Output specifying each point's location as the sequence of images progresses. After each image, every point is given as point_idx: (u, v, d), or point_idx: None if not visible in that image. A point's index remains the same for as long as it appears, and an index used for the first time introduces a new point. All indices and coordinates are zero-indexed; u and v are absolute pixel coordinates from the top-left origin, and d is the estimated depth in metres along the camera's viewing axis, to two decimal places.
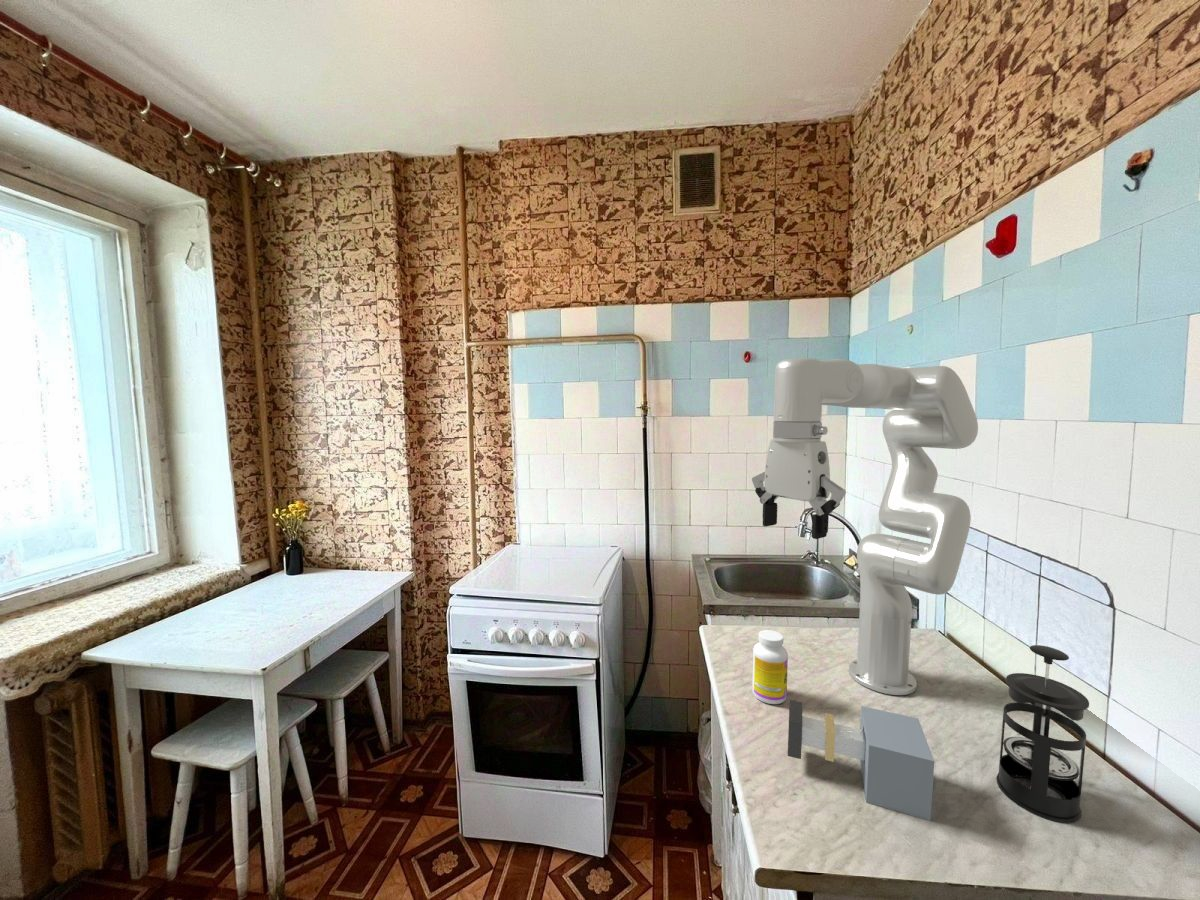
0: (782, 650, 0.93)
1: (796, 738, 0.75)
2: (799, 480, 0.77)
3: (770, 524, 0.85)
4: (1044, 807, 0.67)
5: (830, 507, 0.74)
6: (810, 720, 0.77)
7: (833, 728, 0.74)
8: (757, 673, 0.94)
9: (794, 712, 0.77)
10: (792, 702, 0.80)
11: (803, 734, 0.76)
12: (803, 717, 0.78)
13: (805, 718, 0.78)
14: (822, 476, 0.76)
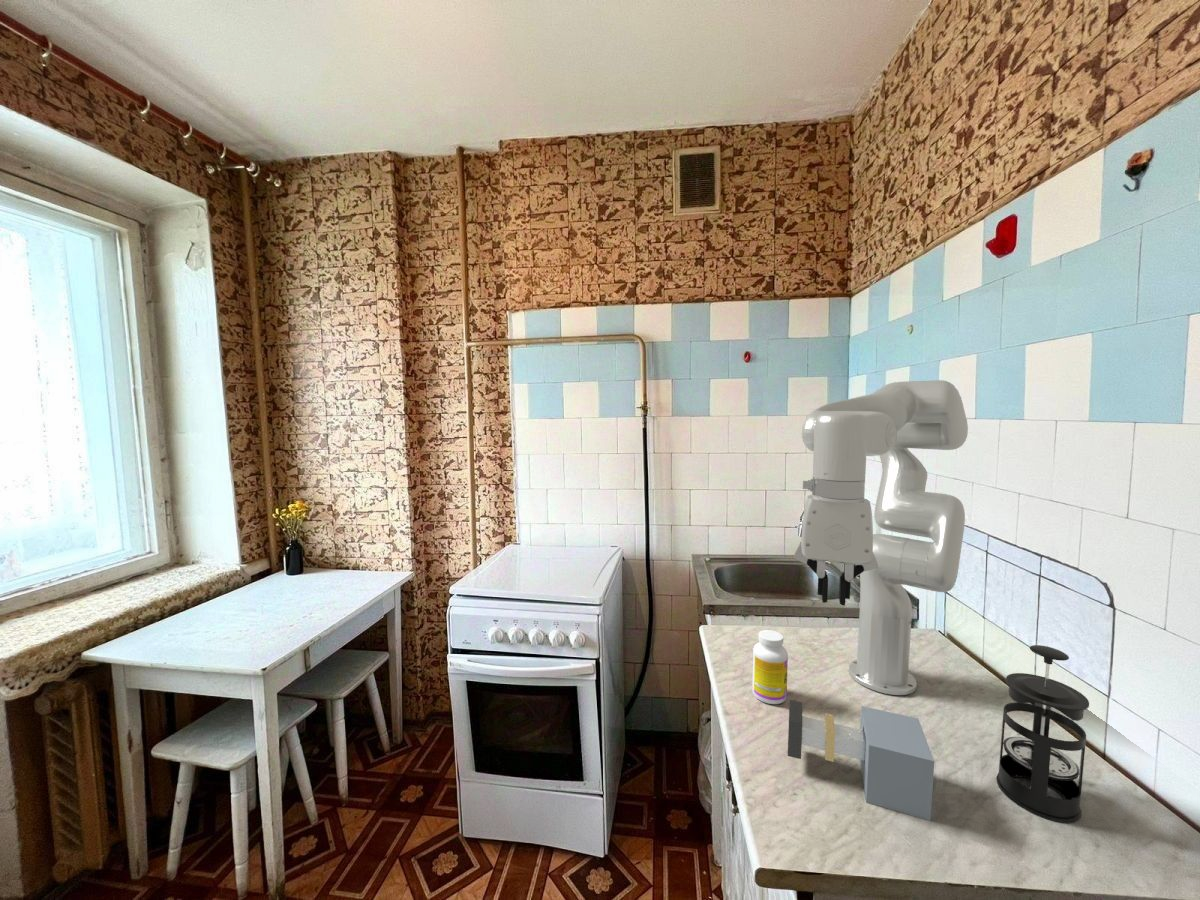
0: (782, 650, 0.93)
1: (796, 738, 0.75)
2: None
3: (839, 599, 0.77)
4: (1044, 807, 0.67)
5: None
6: (810, 720, 0.77)
7: (833, 728, 0.74)
8: (757, 673, 0.94)
9: (794, 712, 0.77)
10: (792, 702, 0.80)
11: (803, 734, 0.76)
12: (803, 717, 0.78)
13: (805, 718, 0.78)
14: None
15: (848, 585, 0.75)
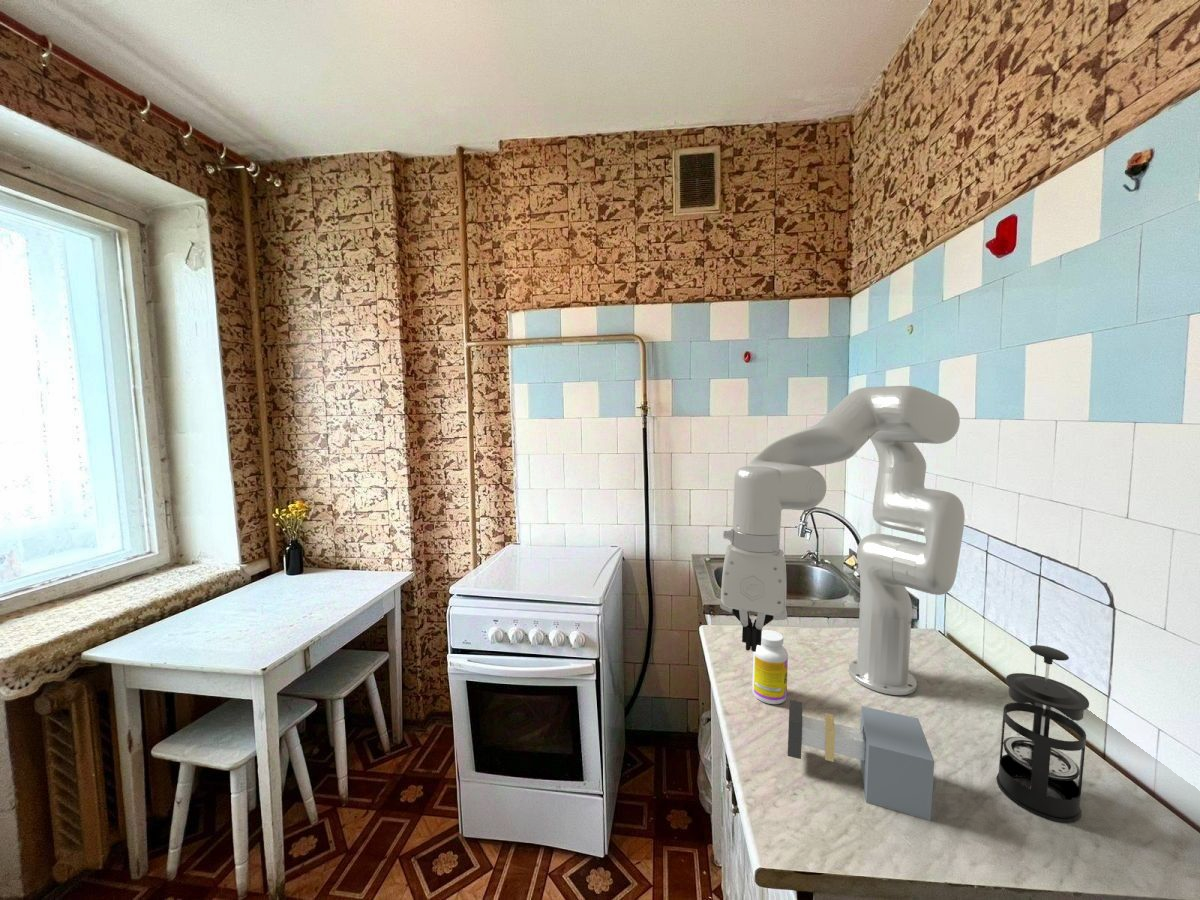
0: (782, 650, 0.93)
1: (796, 738, 0.75)
2: None
3: None
4: (1044, 807, 0.67)
5: None
6: (810, 720, 0.77)
7: (833, 728, 0.74)
8: (757, 673, 0.94)
9: (794, 712, 0.77)
10: (792, 702, 0.80)
11: (803, 734, 0.76)
12: (803, 717, 0.78)
13: (805, 718, 0.78)
14: None
15: (759, 632, 0.78)
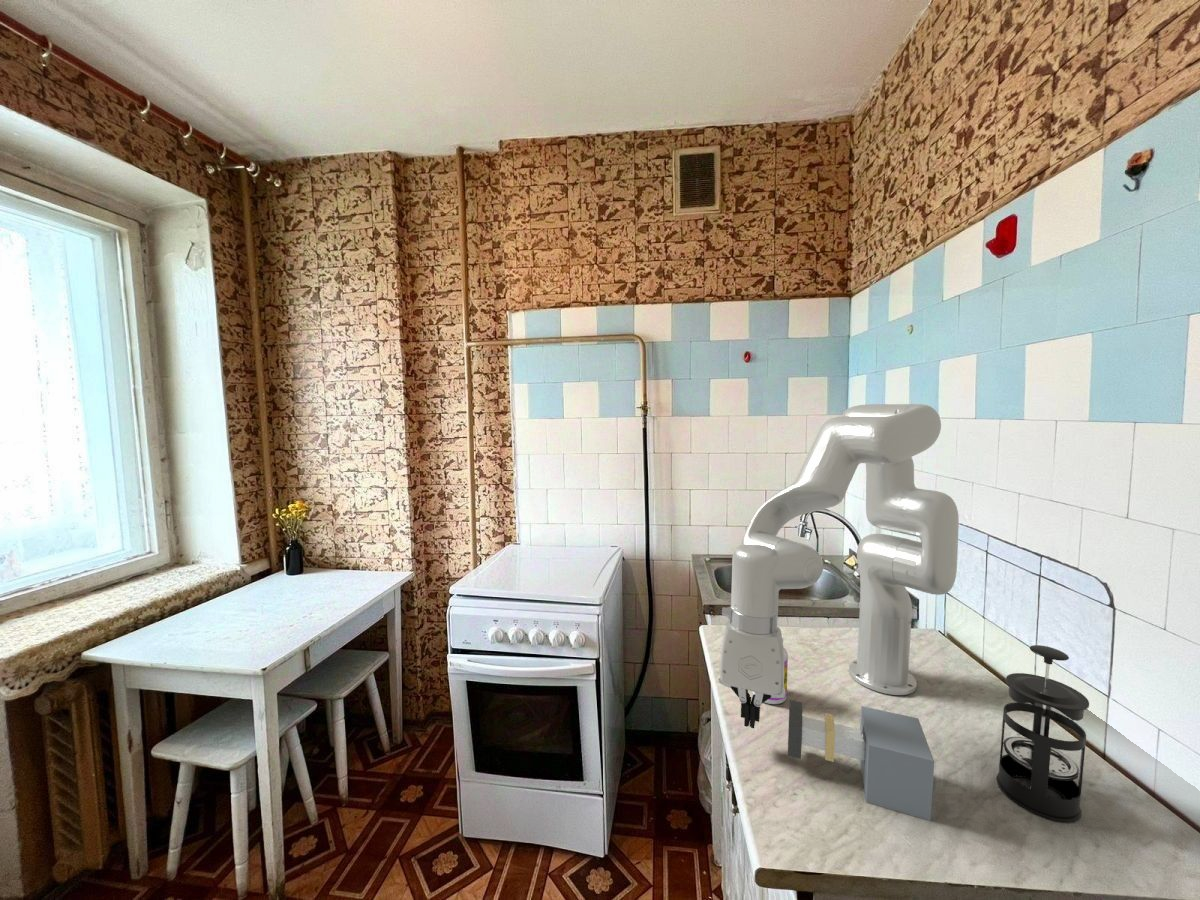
0: None
1: (796, 738, 0.75)
2: None
3: None
4: (1044, 807, 0.67)
5: None
6: (810, 720, 0.77)
7: (833, 728, 0.74)
8: None
9: (794, 712, 0.77)
10: (792, 702, 0.80)
11: (803, 734, 0.76)
12: (803, 717, 0.78)
13: (805, 718, 0.78)
14: None
15: (757, 709, 0.79)
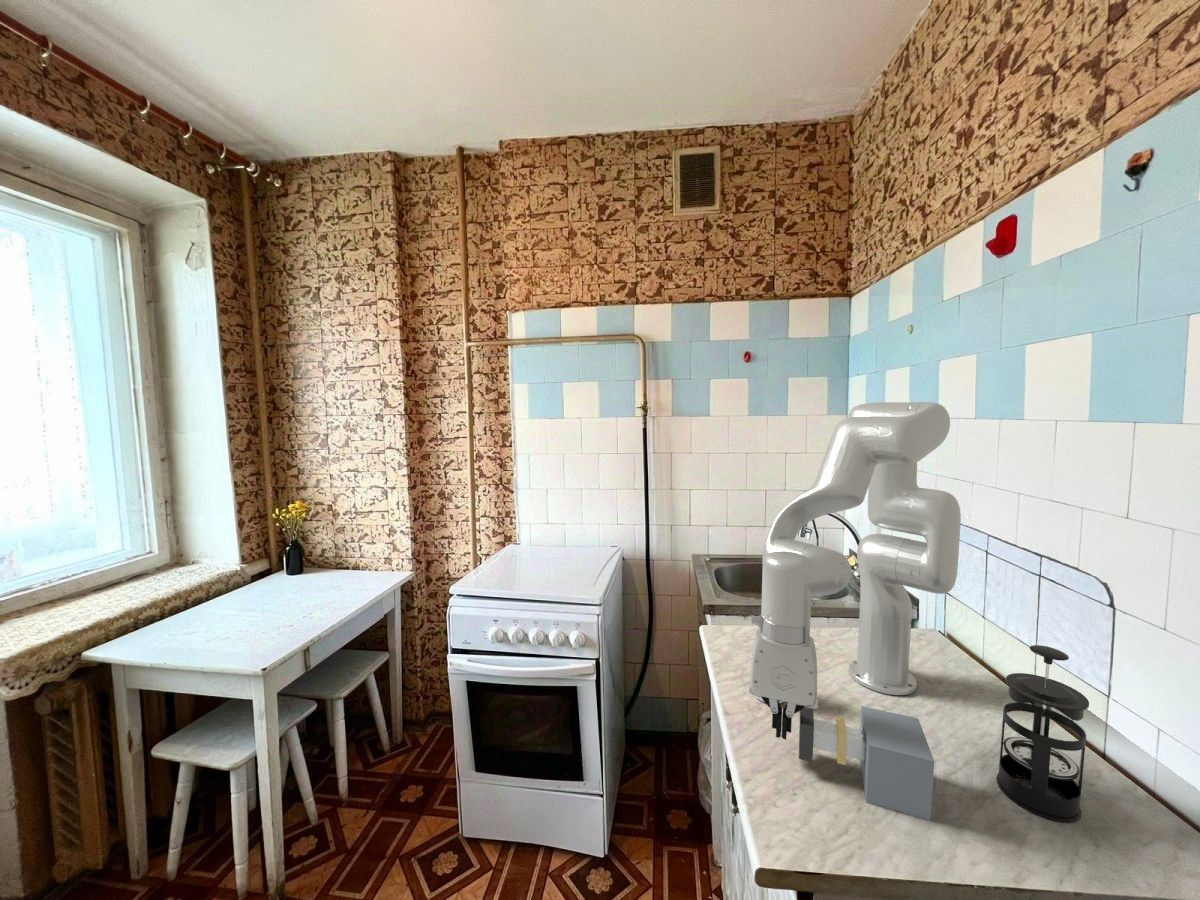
0: None
1: (807, 741, 0.74)
2: None
3: None
4: (1044, 807, 0.67)
5: None
6: (821, 723, 0.77)
7: (845, 731, 0.74)
8: None
9: (805, 715, 0.76)
10: None
11: (814, 737, 0.75)
12: (814, 720, 0.78)
13: (816, 721, 0.77)
14: None
15: (789, 720, 0.77)
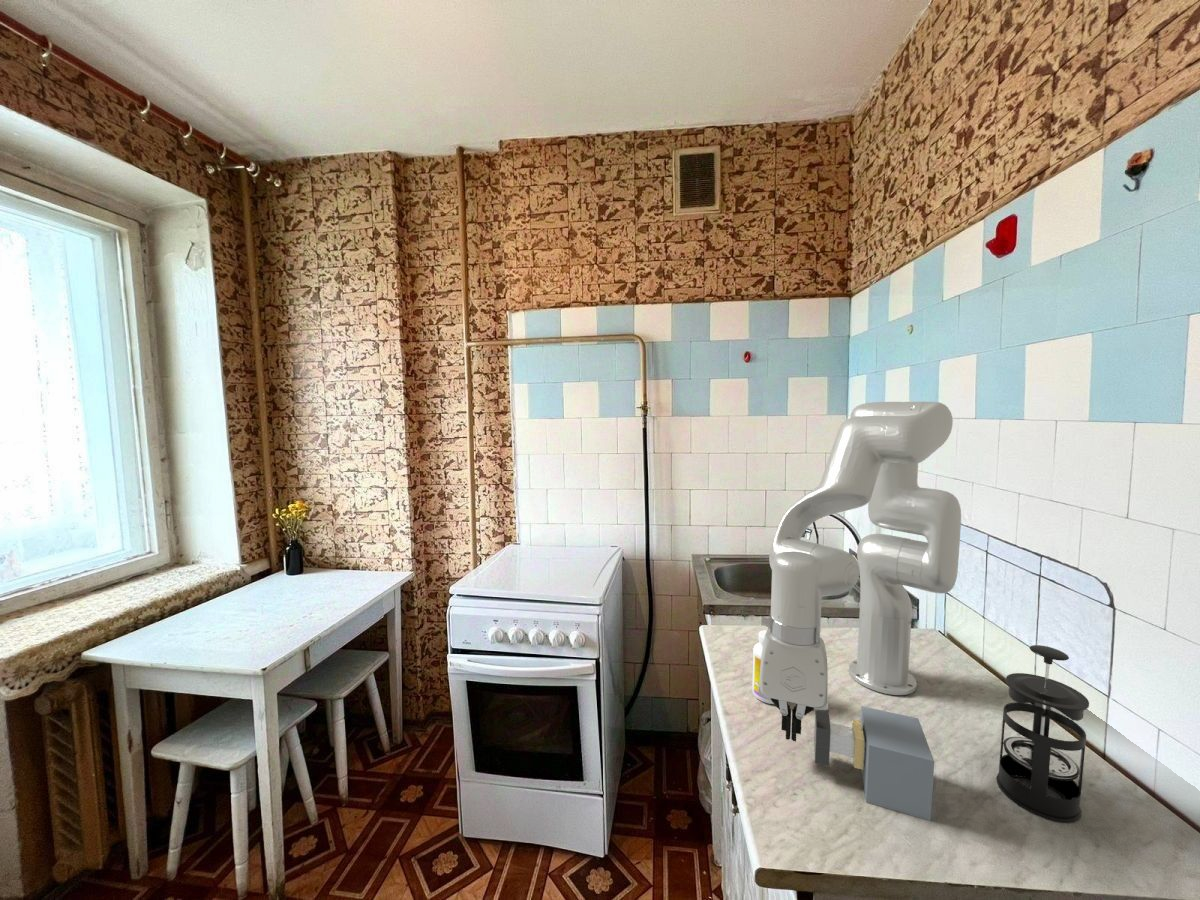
0: None
1: (824, 745, 0.73)
2: None
3: (791, 732, 0.78)
4: (1044, 807, 0.67)
5: None
6: (837, 727, 0.76)
7: (862, 735, 0.73)
8: (757, 673, 0.94)
9: (821, 719, 0.75)
10: None
11: (831, 741, 0.74)
12: (830, 723, 0.77)
13: (832, 724, 0.76)
14: None
15: (799, 721, 0.77)
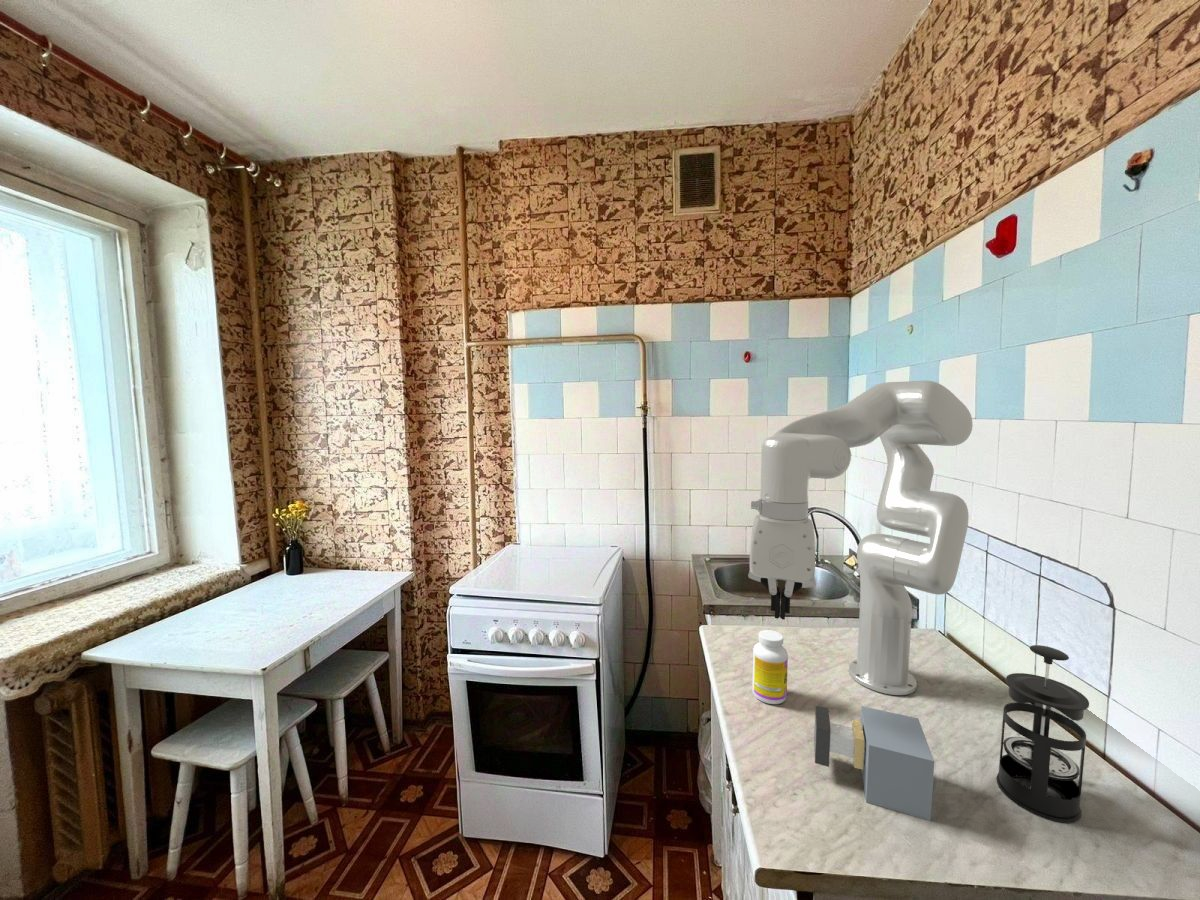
0: (782, 650, 0.93)
1: (824, 745, 0.73)
2: None
3: None
4: (1044, 807, 0.67)
5: None
6: (837, 727, 0.76)
7: (862, 735, 0.73)
8: (757, 673, 0.94)
9: (821, 719, 0.75)
10: (818, 708, 0.78)
11: (831, 741, 0.74)
12: (830, 723, 0.77)
13: (832, 724, 0.76)
14: None
15: (788, 600, 0.79)
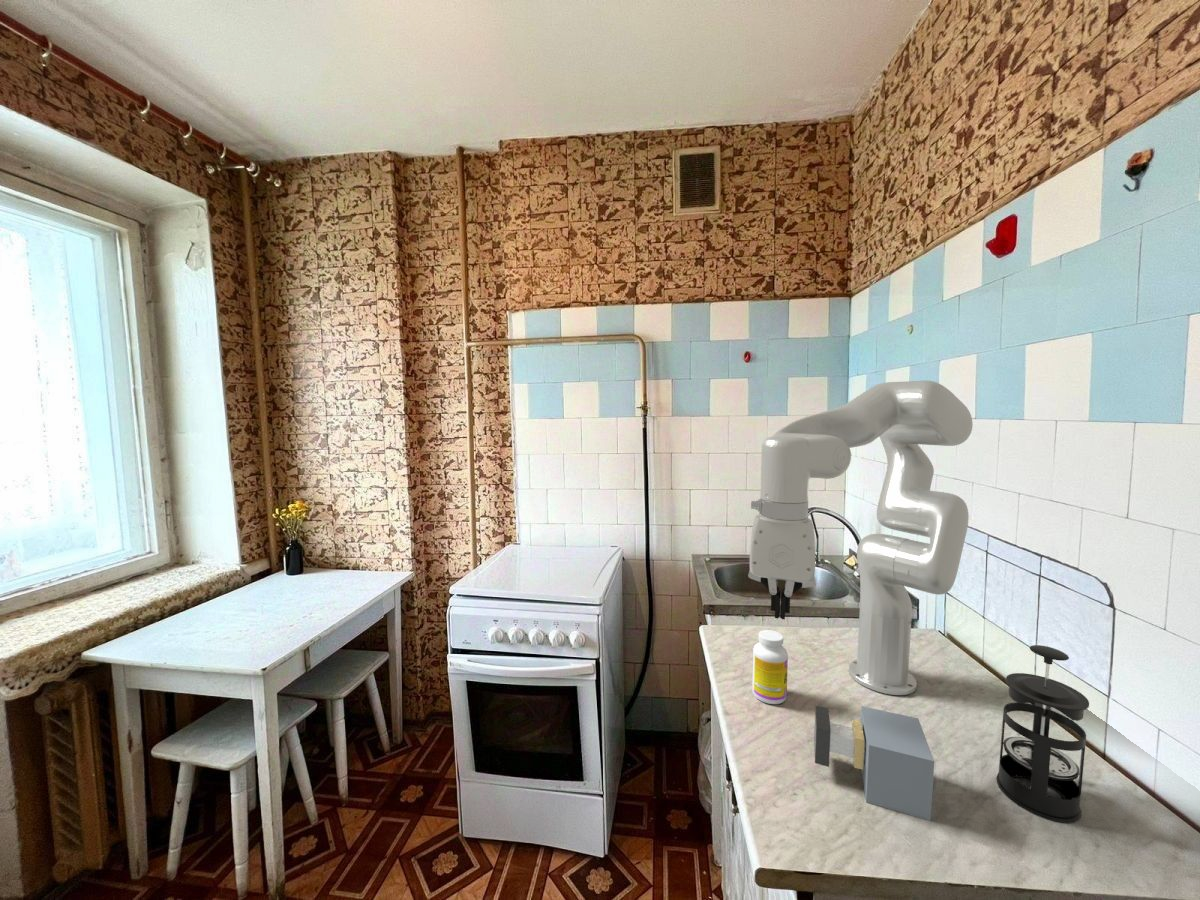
0: (782, 650, 0.93)
1: (824, 745, 0.73)
2: None
3: None
4: (1044, 807, 0.67)
5: None
6: (837, 727, 0.76)
7: (862, 735, 0.73)
8: (757, 673, 0.94)
9: (821, 719, 0.75)
10: (818, 708, 0.78)
11: (831, 741, 0.74)
12: (830, 723, 0.77)
13: (832, 724, 0.76)
14: None
15: (788, 600, 0.79)
